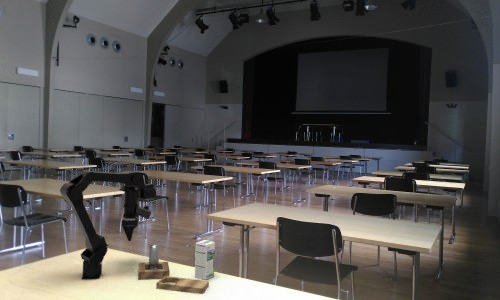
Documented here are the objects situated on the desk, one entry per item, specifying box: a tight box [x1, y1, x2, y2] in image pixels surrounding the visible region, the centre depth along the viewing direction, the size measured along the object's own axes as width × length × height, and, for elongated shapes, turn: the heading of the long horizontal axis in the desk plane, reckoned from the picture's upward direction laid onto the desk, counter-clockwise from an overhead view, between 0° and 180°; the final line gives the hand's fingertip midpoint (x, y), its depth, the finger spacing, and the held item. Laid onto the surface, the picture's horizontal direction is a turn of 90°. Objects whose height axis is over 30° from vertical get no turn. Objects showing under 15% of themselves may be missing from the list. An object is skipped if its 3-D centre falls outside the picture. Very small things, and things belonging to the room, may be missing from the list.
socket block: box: [137, 261, 171, 281], centre depth 172 cm, size 12×12×3 cm
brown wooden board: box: [155, 275, 210, 295], centre depth 159 cm, size 18×8×2 cm, turn 79°
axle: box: [148, 243, 160, 270], centre depth 172 cm, size 4×4×12 cm
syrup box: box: [194, 239, 216, 281], centre depth 171 cm, size 6×6×14 cm
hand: (130, 238), depth 177 cm, fingers open, 9 cm apart
